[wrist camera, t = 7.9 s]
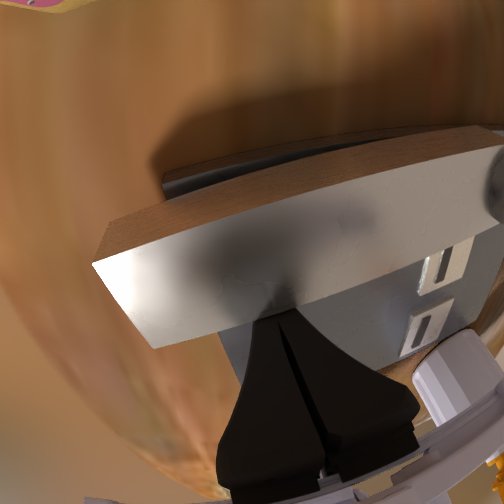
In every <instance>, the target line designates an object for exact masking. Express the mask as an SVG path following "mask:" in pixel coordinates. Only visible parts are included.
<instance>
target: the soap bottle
mask: <svg viewBox="0 0 504 504" xmlns="http://www.w3.org/2000/svg"><path fill="white" fill-rule="evenodd" d="M503 377H504V372H503V370H502V369H501V367H500V366H499V364H498V363H497V361H496V360H495V358H494V357H493V356H492V354H491V353H490V351H489V350H488V349H487V347H486V346H485V345H484V343H483V342H482V340H481V339H480V338H479V336H478V335H477V334H476V332H475V331H474V330H472V329H465V330H462V331H460V332H457V333H455V334H454V335H452V336H450V337H449V338H447V339H446V340H444V341H443V342H442V343H441V344H439V345H438V346H437V347H436V348H434V349H433V350H432V351H431V352H430V353H429V354H428V355H427V356H426V357H425V358H424V359H423V361H422V362H421V363H420V364H419V365H418V367H417V368H416V370H415V372H414V374H413V384H414V385H415V387H416V389H417V391H418V392H419V394H420V396H421V398H422V400H423V402H424V403H425V405H426V407H427V409H428V411H429V413H430V415H431V416H432V418H433V420H434V422H435V424H436V426H437V427H439V426H440V425H442V424H443V423H445V422H447V421H448V420H450V419H451V418H453V417H455V416H456V415H458V414H459V413H461V412H462V411H464V410H465V409H467V408H468V407H469V406H471V405H472V404H474V403H475V402H476V401H478V400H479V399H481V398H482V397H483V396H485V395H486V394H487V393H489V392H490V391H491V390H492V389H494V388H495V386H496V385H497V384H498V383H499V382H500V380H501V379H502V378H503ZM486 463H487V464H488V466H491V465H493V464H494V463H496V464H497V467H498V469H499V472H498V473H497V474H496V478H497V480H496V481H495V482H494V483H493V488H492V489H493V491H496V490H498V492H499V494H500V497H501V499H502V502H503V504H504V445H503V446H501V447H500V448H499V449H498V450H497V451H496V452H495V453H494V454H493V455H492V456H491V457H489V458H488V459H487V460H486Z"/></svg>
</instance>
